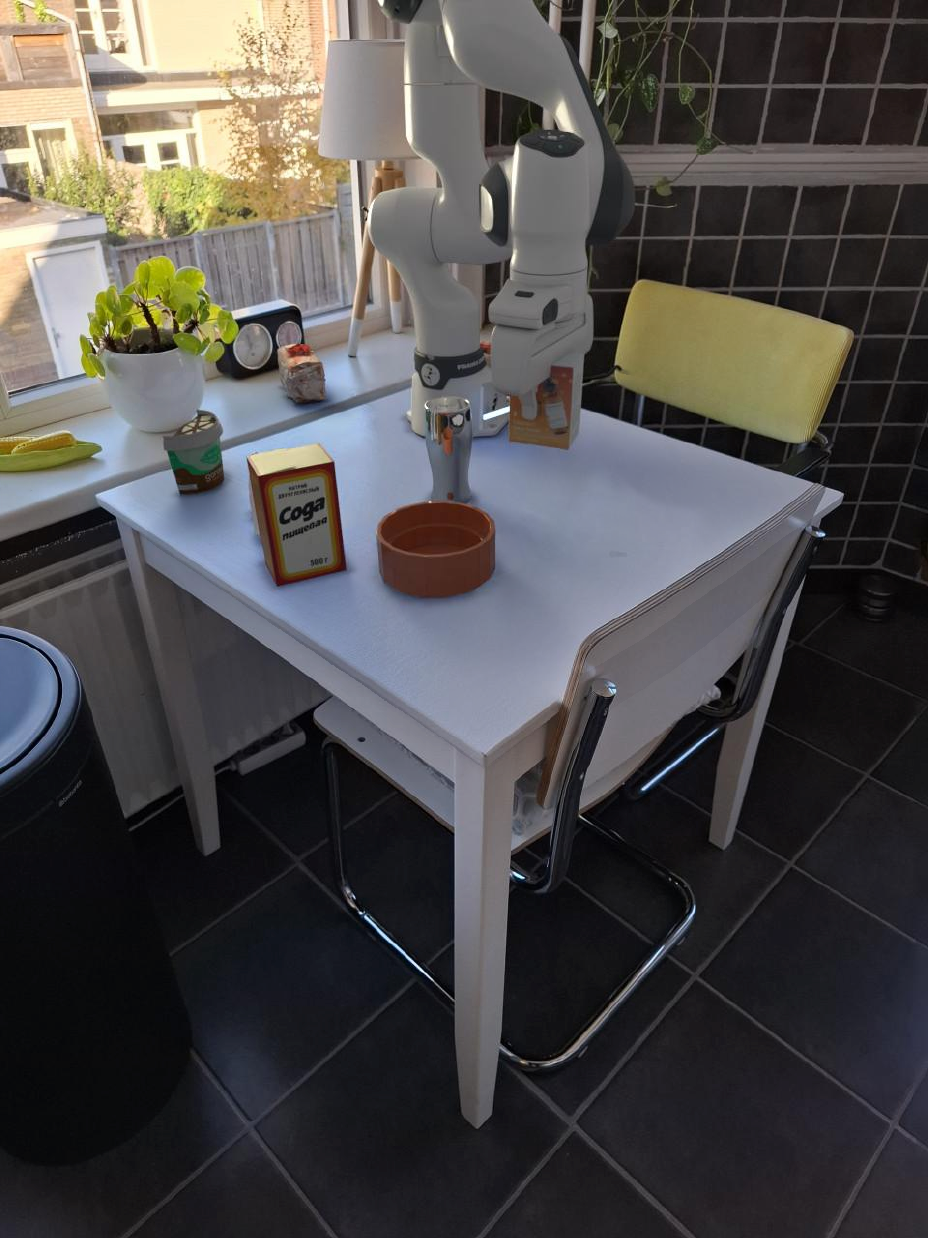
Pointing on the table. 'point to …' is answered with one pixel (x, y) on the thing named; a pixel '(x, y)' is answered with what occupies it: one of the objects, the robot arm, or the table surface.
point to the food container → (196, 454)
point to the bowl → (436, 548)
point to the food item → (301, 373)
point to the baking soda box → (298, 512)
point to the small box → (552, 407)
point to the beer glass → (449, 447)
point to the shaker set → (253, 507)
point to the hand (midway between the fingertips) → (544, 407)
